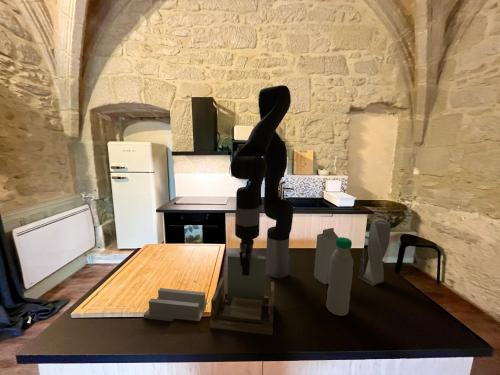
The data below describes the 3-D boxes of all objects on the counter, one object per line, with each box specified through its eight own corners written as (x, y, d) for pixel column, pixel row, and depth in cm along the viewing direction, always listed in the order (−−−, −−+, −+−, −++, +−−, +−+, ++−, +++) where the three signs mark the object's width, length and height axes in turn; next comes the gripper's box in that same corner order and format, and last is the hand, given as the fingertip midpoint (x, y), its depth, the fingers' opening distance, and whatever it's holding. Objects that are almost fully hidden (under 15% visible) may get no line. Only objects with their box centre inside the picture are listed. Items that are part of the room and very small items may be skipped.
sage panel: (228, 303, 74) (228, 253, 71) (264, 306, 73) (265, 256, 70) (227, 307, 72) (227, 256, 69) (263, 311, 71) (265, 259, 68)
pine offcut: (233, 306, 69) (233, 297, 68) (261, 309, 68) (262, 300, 67) (230, 316, 64) (230, 307, 64) (260, 319, 63) (261, 310, 63)
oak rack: (222, 299, 78) (222, 275, 76) (273, 304, 76) (274, 280, 74) (210, 331, 64) (210, 302, 62) (272, 338, 62) (273, 309, 60)
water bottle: (347, 305, 76) (354, 236, 72) (349, 319, 70) (357, 245, 66) (326, 300, 79) (331, 233, 74) (326, 313, 72) (332, 241, 68)
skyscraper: (370, 272, 97) (377, 211, 92) (388, 282, 90) (397, 216, 85) (357, 277, 94) (364, 213, 89) (375, 287, 86) (383, 219, 82)
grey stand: (160, 297, 78) (159, 285, 77) (209, 302, 76) (209, 289, 75) (143, 318, 68) (142, 304, 68) (199, 324, 66) (199, 310, 66)
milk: (313, 277, 93) (317, 227, 89) (324, 273, 96) (328, 225, 92) (324, 284, 88) (328, 232, 84) (335, 281, 90) (339, 229, 87)
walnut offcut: (225, 313, 69) (225, 305, 69) (263, 317, 68) (263, 309, 67) (221, 324, 65) (221, 315, 65) (262, 329, 64) (262, 320, 63)
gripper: (239, 214, 75) (238, 261, 78) (230, 227, 61) (230, 284, 64) (261, 215, 74) (259, 262, 77) (257, 229, 60) (255, 286, 63)
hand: (246, 272), depth 70 cm, fingers closed
